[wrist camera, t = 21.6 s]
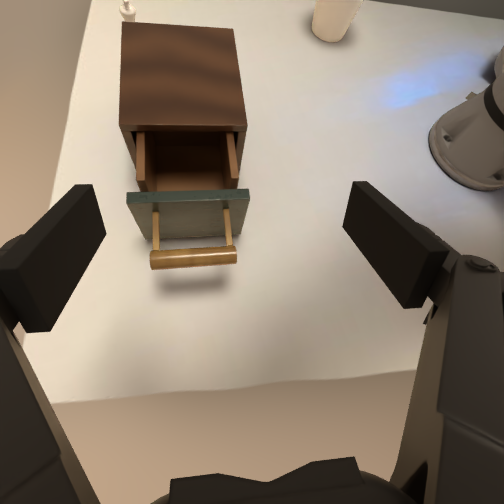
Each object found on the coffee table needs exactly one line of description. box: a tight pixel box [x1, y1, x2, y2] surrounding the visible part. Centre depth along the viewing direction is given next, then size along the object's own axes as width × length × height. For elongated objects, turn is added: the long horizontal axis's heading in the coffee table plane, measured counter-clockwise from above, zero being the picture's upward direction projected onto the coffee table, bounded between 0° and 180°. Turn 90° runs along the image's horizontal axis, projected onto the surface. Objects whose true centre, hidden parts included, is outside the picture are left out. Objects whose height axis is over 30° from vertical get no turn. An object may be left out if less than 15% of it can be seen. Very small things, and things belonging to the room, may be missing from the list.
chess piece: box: [119, 0, 136, 22], centre depth 41 cm, size 5×5×10 cm
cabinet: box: [119, 21, 248, 174], centre depth 37 cm, size 15×13×11 cm
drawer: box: [126, 131, 250, 270], centre depth 33 cm, size 20×12×9 cm, turn 7°
